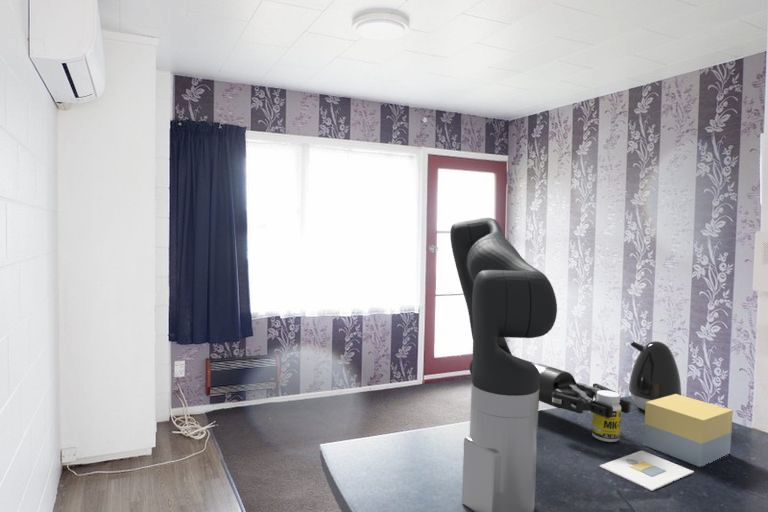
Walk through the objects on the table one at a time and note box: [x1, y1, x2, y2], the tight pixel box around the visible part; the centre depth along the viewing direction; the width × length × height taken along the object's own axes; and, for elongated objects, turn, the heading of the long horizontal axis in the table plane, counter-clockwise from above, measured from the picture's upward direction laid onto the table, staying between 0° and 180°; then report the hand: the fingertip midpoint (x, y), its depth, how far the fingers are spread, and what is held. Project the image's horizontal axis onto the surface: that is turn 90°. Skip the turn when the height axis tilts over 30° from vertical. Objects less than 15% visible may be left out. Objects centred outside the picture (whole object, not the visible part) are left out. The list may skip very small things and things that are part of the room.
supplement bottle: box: [591, 390, 622, 443], centre depth 96 cm, size 5×5×8 cm
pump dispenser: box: [628, 341, 682, 411], centre depth 113 cm, size 10×10×15 cm
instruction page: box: [599, 450, 695, 492], centre depth 85 cm, size 12×9×1 cm
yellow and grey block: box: [643, 394, 734, 468], centre depth 93 cm, size 10×10×8 cm
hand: (620, 410), depth 94 cm, fingers closed on supplement bottle, 4 cm apart
